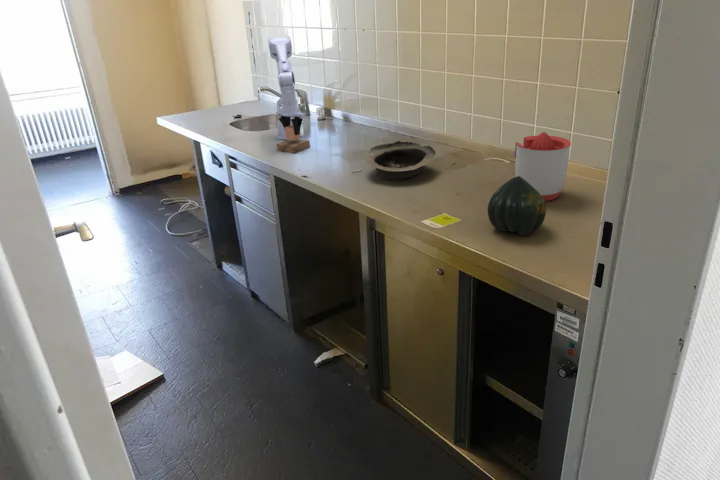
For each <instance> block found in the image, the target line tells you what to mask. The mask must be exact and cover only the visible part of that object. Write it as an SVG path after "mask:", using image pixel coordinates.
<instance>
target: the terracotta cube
mask: <svg viewBox="0 0 720 480" xmlns="http://www.w3.org/2000/svg"><path fill="white" fill-rule="evenodd" d="M285 133H286V139H292V140H295V139H301V138H302V137H301V135H302V134H301V132H300V134H299V135H295V132H294V126H293V125H289V126H287V127H285Z"/></svg>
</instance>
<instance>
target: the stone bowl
mask: <svg viewBox="0 0 720 480" xmlns="http://www.w3.org/2000/svg"><path fill="white" fill-rule="evenodd" d="M435 156H436V150H435V149H434V148H433V146H431V145H424V146H423V145H420V144H419V143H416V142H411V141H401V140H398V141H397V140H396V141H395V142H392V143H387V144H386V143H384V144H380V145H374V146H373V147H371V148H370V150H369V151H368V154H367V155H365V159H366V164H367V165H369V167H371V168H374V169H375V171H376V172H377V174H378V175H379V176H380V177H382V178H383V179H385V180H391V181H392V180H393V181H402V180H404V179H408V178H410V177H413V176H415V175H417V174H419V173H420V172H421V171H423V170H424V168H425V167H426V166H427V165H428V164H429V163H430V162H432V161H433V159H434V158H435Z"/></svg>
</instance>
